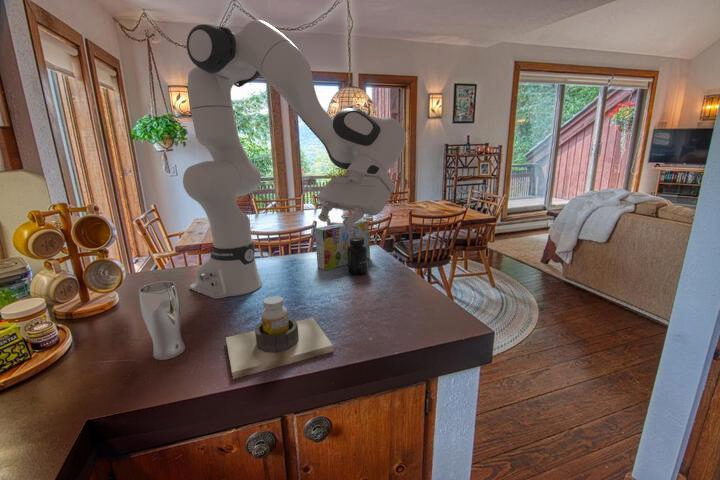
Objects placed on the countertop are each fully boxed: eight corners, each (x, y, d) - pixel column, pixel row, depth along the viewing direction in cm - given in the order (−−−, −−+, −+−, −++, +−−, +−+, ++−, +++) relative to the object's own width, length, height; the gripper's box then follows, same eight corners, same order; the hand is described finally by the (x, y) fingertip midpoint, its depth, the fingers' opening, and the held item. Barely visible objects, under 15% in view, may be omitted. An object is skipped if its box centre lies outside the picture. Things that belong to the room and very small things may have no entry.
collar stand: (233, 379, 65) (229, 355, 63) (226, 343, 77) (223, 323, 76) (333, 351, 73) (332, 330, 72) (312, 323, 85) (311, 304, 84)
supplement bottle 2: (365, 276, 115) (364, 241, 112) (345, 275, 117) (344, 241, 114) (369, 269, 122) (368, 236, 119) (350, 268, 123) (349, 236, 120)
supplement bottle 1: (292, 344, 73) (288, 302, 71) (266, 350, 71) (261, 307, 69) (287, 332, 78) (283, 292, 76) (262, 337, 76) (258, 297, 74)
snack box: (361, 255, 139) (360, 218, 135) (370, 258, 135) (369, 220, 131) (316, 267, 126) (314, 227, 122) (325, 271, 122) (323, 229, 118)
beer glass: (162, 365, 70) (148, 296, 66) (144, 355, 73) (130, 289, 70) (194, 348, 75) (183, 283, 72) (175, 340, 79) (164, 278, 75)
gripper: (330, 166, 89) (300, 209, 85) (387, 169, 74) (354, 220, 70) (344, 183, 93) (316, 224, 89) (401, 188, 78) (370, 238, 74)
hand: (333, 222), depth 80 cm, fingers open, 8 cm apart
